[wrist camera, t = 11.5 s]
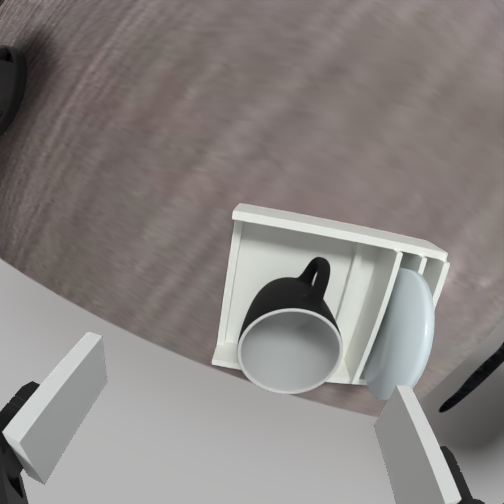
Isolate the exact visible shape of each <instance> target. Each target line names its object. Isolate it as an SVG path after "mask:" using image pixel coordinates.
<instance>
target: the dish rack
mask: <svg viewBox="0 0 504 504" xmlns="http://www.w3.org/2000/svg"><path fill="white" fill-rule="evenodd" d="M232 219H234V220H235V223H234V229H233V236H232V243H231V249H230V256H229V263H228V270H227V276H226V283H225V290H224V297H223V304H222V312H221V319H220V326H219V333H218V341H217V346H216V349H215V352H214V355H213V359H212V364H213V365H218V366H223V367H228V368H234V369H239V370H241V368H240V365H239V362H238V358H237V345H238V339H239V335H240V331H241V328H242V325H243V322H244V319H245V316H246V314H247V311H248V309H249V307H250V305H251V303H252V301H253V299H254V298H255V296H256V295H257V293H258V292H259V291H260V290H261V289H262V288H263V287H264V286H265V285H266V284H268V283H269V282H271V281H273V280H275V279H278V278H283V277H294V278H297V277H299V276H300V275H301V274H302V273H303V271H304V270H305V268H306V267H307V265H308V264H309V263H310V262H311V260H312V259H314V258H315V257H323V258H325V259H326V260H327V261H328V262H329V264H330V269H331V270H330V278H329V282H328V286H327V289H326V292H325V295H324V298H323V299H324V301H325V302H326V304H327V305H328V307H329V309H330V311H331V313H332V315H333V317H334V319H335V321H336V323H337V326H338V328H339V331H340V334H341V338H342V343H343V354H342V359H341V362H340V364H339V366H338V368H337V370H336V371H335V373H334V374H333V375H332V376H331V377H330V378H329V379H328V380H327V381H326V382H334V383H345V384H357V385H367V383H366V380H365V375H364V365H365V363H366V360H367V358H368V356H369V353H370V351H371V348H372V345H373V343H374V340H375V338H376V335H377V332H378V330H379V327H380V324H381V321H382V319H383V316H384V313H385V310H386V307H387V304H388V301H389V298H390V295H391V292H392V289H393V286H394V282H395V279H396V276H397V273H398V269H399V268H405V269H410V270H414V271H417V272H418V273H420V274H421V275H422V276H423V277H424V279H425V280H426V282H427V284H428V286H429V288H430V291H431V295H432V299H433V305H434V310H435V307H436V304H437V301H438V299H439V296H440V293H441V290H442V287H443V284H444V281H445V278H446V275H447V272H448V269H449V266H450V263H448V262H447V261H446V258H447V255H448V253H447V252H445V251H443V250H442V249H440V248H439V247H437V246H435V245H434V244H432V243H430V242H429V241H426V240H422V239H417V238H413V237H409V236H404V235H400V234H395V233H391V232H386V231H382V230H377V229H373V228H368V227H363V226H359V225H354V224H349V223H344V222H339V221H334V220H329V219H324V218H319V217H314V216H309V215H304V214H298V213H293V212H288V211H282V210H277V209H271V208H265V207H260V206H254V205H248V204H242V203H239V204H238V205H237V207H236V208H235V209H234V210H233V215H232ZM316 275H317V273H316V274H315V276H314V278H313V282H312V285H313V284H314V281H315V278H316Z"/></svg>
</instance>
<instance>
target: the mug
mask: <svg viewBox="0 0 504 504" xmlns="http://www.w3.org/2000/svg"><path fill="white" fill-rule="evenodd" d="M330 270H331V269H330V264H329V262H328V261H327V260H326V259H325V258H323V257H315V258H314V259H312V260H311V262H310V263H309V264H308V265H307V267H306V268H305V270H304V271H303V273H302V274H301V275H300V276H299V277H297V278H294V277H283V278H278V279H275V280H273V281H271V282H269V283H268V284H266V285H265V286H264V287H263V288H262V289H261V290H260V291H259V292H258V293H257V295H256V296H255V298H254V299H253V301H252V303H251V305H250V307H249V309H248V311H247V314H246V316H245V319H244V322H243V325H242V328H241V331H240V335H239V339H238V345H237V358H238V362H239V365H240V368H241V370H242V371H243V373H244V374H245V376H246V377H247V378H248V379H249V380H250V381H251V382H252V383H254V384H255V385H257V386H259V387H260V388H262V389H265V390H267V391H270V392H274V393H280V394H297V393H302V392H306V391H309V390H312V389H314V388H316V387H318V386H320V385H321V384H323V383H324V382H326V381H327V380H328V379H329V378H330V377H331V376H332V375H333V374H334V373H335V371H336V370H337V368H338V366H339V364H340V362H341V359H342V354H343V343H342V338H341V334H340V331H339V328H338V326H337V323H336V321H335V319H334V317H333V315H332V313H331V311H330V309H329V307H328V305H327V304H326V302H325V301H324V299H323V298H324V295H325V292H326V289H327V286H328V282H329V278H330ZM316 273H317V275H316V278H315V281H314V284H313V285H312V282H313V278H314V276H315V274H316Z"/></svg>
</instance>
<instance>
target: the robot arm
mask: <svg viewBox="0 0 504 504" xmlns="http://www.w3.org/2000/svg"><path fill="white" fill-rule="evenodd" d="M4 1H5V0H0V7H1V5H2V4H3V3H4ZM25 79H26V65H25V60H24V57H23V55H22V53H21V52H20V51H19V50H18V49H16V48H14V47H10V46H7V45H0V135H1V134H2V133H3V132H4V131H5V130H6V129H7V127H8V126H9V125H10V123H11V121H12V120H13V118H14V116H15V114H16V112H17V110H18V107H19V104H20V102H21V99H22V95H23V91H24V86H25ZM106 383H107V375H106V366H105V357H104V348H103V336H100V335H97V334H94V333H91V332H87V333H86V334H85V335H84V336H83V338H82V339H81V340H80V341H79V342H78V343H77V344H76V345H75V346H74V347H73V348H72V350H71V351H70V352H69V353H68V354H67V355H66V356H65V357H64V359H63V360H62V361H61V362H60V363H59V364H58V365H57V366H56V368H55V369H54V370H53V371H52V372H51V373H50V375H49V376H48V377H47V378H46V379H45V380H44V381H43V383H42V384H41V385H39V384H37V383H35V382H33V381H32V382H30V383H28V384H26V385H24V386H23V387H22V388H21V389H20V390H19V391H18V392H17V393H16V394H15V397H13V398H12V399H11V400H10V402H9V403H7V405H6V406H5V407H4V408H3V409H2V411H1V412H0V504H28V500H27V496H26V493H25V489H24V485H23V480H22V477H21V475H20V472H21V471H22V469H23V468H24V470H25V471H26V473H27V474H28V476H30V477H32V478H33V479H35V480H37V481H39V482H41V483H42V484H44V485H45V483H46V482H47V480H48V478H49V476H50V475H51V473H52V471H53V469H54V468H55V466H56V464H57V462H58V461H59V459H60V457H61V456H62V454H63V452H64V451H65V449H66V447H67V446H68V444H69V442H70V441H71V439H72V437H73V435H74V434H75V433H76V431H77V429H78V428H79V426H80V424H81V423H82V421H83V420H84V418H85V416H86V415H87V413H88V412H89V410H90V408H91V407H92V405H93V404H94V402H95V401H96V399H97V397H98V396H99V394H100V393H101V391H102V390H103V388H104V386H105V385H106ZM374 428H375V431H376V434H377V438H378V441H379V444H380V448H381V451H382V454H383V458H384V461H385V465H386V468H387V472H388V475H389V479H390V483H391V486H392V490H393V494H394V497H395V501H396V504H485V503H484V502H482V501H481V500H477V499H473V498H472V496H471V494H470V491H469V489H468V486H467V484H466V482H465V480H464V477H463V475H462V473H461V472H460V468H459V466H458V465H457V462H456V459H455V457H454V455H453V454H452V452H451V451H450V450H449V449H448V448H447V447H446V446H442V447H439V445H438V442H437V440H436V438H435V436H434V434H433V432H432V429H431V427H430V425H429V423H428V421H427V419H426V417H425V415H424V413H423V411H422V408H421V406H420V404H419V402H418V400H417V398H416V396H415V394H414V392H413V390H412V388H411V386H410V385H396V387H395V389H394V391H393V392H392V394H391V396H390V398H389V400H388V402H387V403H386V405H385V407H384V409H383V410H382V412H381V414H380V416H379V417H378V419H377V421H376V422H375V424H374ZM503 504H504V503H503Z"/></svg>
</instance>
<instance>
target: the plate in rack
mask: <svg viewBox="0 0 504 504" xmlns="http://www.w3.org/2000/svg"><path fill="white" fill-rule="evenodd" d="M433 335H434V305H433V299H432V295H431V291H430V288H429V286H428V284H427V282H426V280H425V279H424V277H423V276H422V275H421V274H420V273H418V272H417V271H414V270H410V269H405V268H399V269H398V273H397V276H396V279H395V282H394V286H393V289H392V292H391V295H390V298H389V301H388V304H387V307H386V310H385V313H384V316H383V319H382V321H381V324H380V327H379V330H378V332H377V335H376V338H375V340H374V343H373V345H372V348H371V351H370V353H369V356H368V358H367V360H366V363H365V365H364V375H365V380H366V383H367V386H368V389H369V391H370V392H371V394H372V395H373V396H374V397H376V398H377V399H380V400H389V398H390V396H391V394H392V392H393V391H394V389H395V387H396V385H410V386H411V388H413V387H414V386H415V385H416V383H417V382H418V380H419V378H420V377H421V375H422V373H423V371H424V368H425V366H426V364H427V361H428V358H429V354H430V351H431V347H432V341H433Z"/></svg>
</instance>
